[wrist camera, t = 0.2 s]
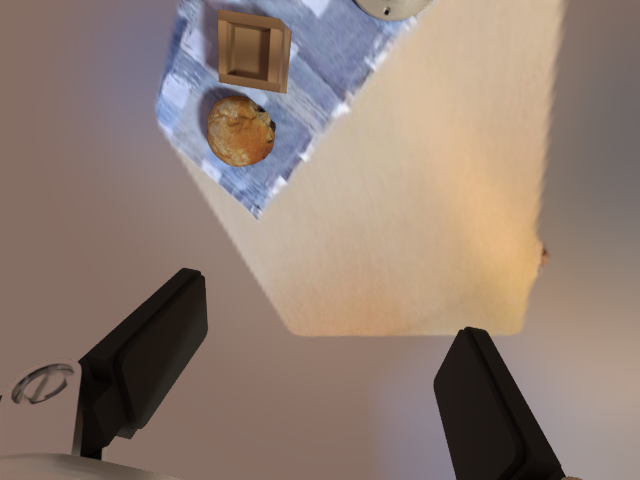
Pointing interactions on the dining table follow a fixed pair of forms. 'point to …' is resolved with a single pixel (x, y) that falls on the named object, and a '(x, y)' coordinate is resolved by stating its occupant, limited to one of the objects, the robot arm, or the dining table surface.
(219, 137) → the bread roll
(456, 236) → the dining table surface
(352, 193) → the dining table surface
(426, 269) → the dining table surface
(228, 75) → the wooden open box
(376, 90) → the dining table surface
